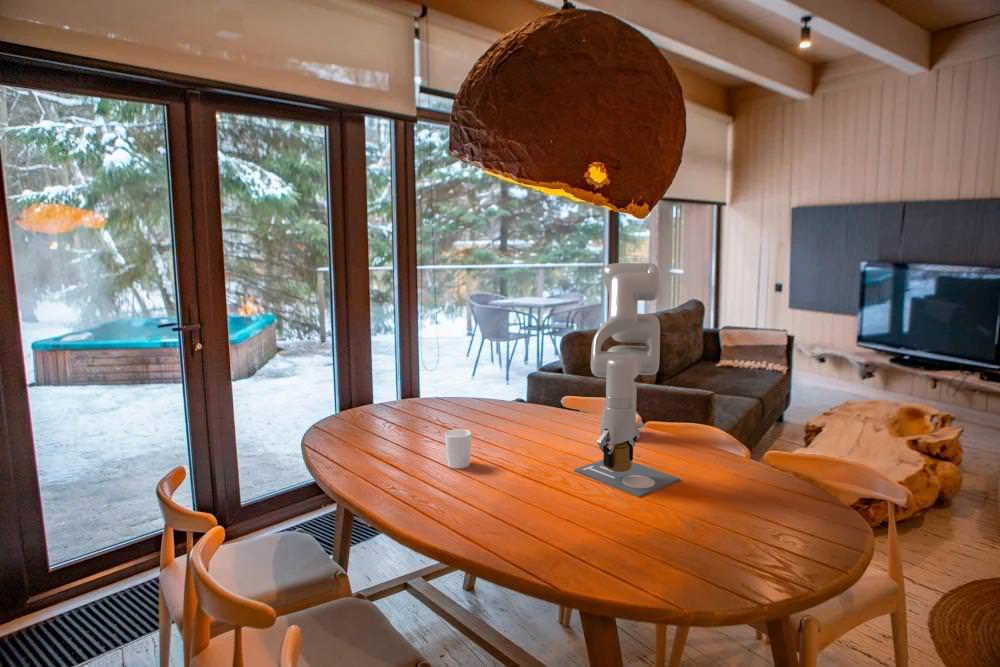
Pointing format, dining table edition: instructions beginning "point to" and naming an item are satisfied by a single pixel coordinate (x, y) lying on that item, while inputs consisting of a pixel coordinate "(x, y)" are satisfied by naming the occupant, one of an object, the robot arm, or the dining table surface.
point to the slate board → (629, 478)
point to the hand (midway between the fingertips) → (618, 462)
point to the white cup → (458, 448)
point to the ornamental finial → (621, 458)
